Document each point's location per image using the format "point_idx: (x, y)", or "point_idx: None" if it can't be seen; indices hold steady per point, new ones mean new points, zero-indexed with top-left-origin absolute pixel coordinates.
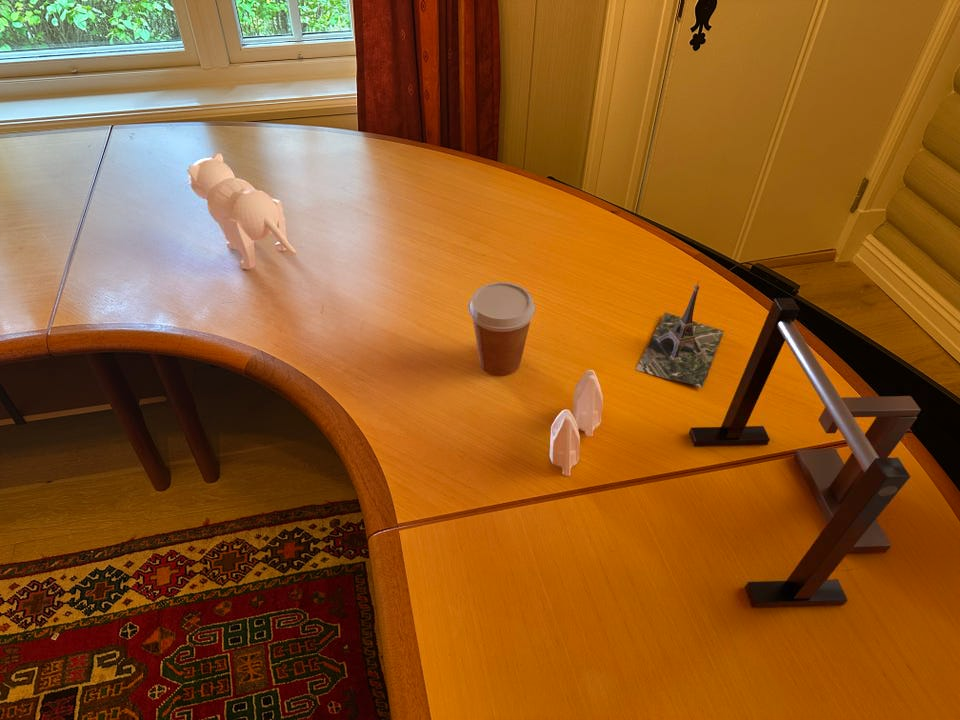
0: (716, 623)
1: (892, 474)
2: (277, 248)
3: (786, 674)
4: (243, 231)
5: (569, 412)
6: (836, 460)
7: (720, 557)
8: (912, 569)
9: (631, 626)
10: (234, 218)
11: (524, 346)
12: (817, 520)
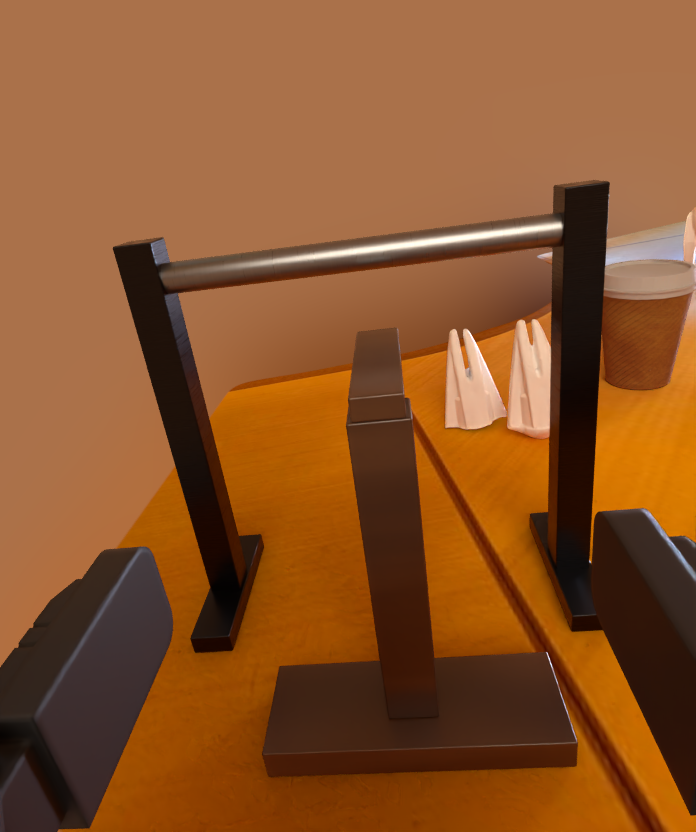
0: None
1: (128, 242)
2: None
3: None
4: (691, 225)
5: (464, 332)
6: (527, 726)
7: (313, 531)
8: (214, 825)
9: (250, 464)
10: (693, 210)
11: (644, 355)
12: None
